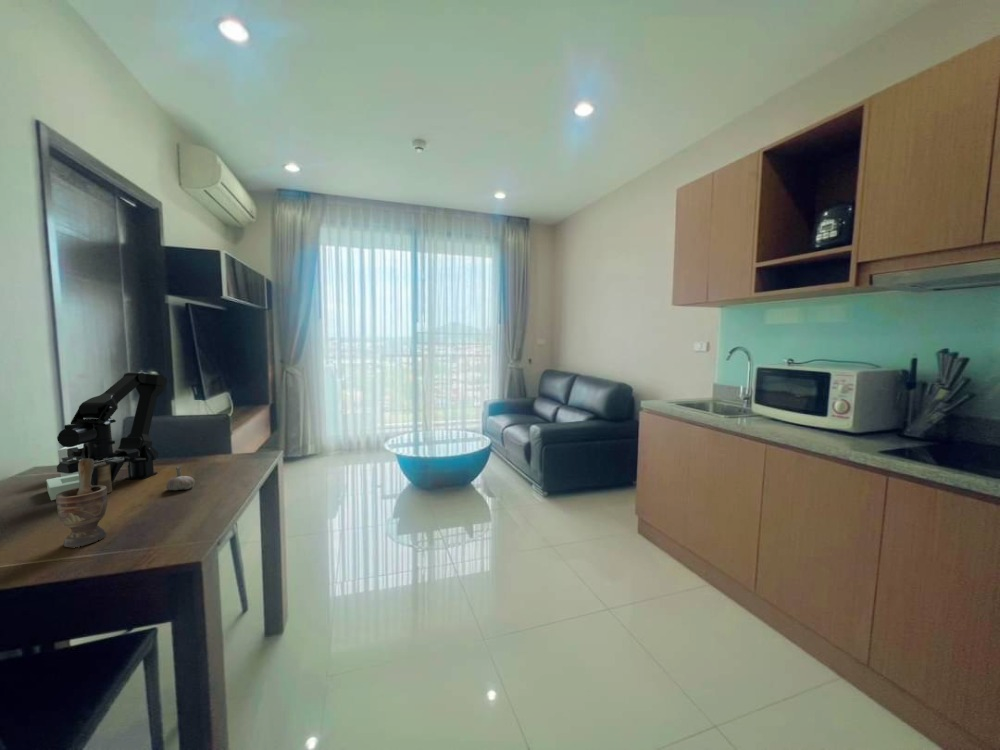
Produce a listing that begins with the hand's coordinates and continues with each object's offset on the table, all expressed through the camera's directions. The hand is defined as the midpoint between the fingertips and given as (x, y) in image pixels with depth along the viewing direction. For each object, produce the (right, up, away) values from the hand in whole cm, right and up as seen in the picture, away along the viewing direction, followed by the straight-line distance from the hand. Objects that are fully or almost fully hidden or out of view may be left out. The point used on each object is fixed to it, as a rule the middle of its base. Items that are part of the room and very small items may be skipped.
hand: (103, 484), depth 125 cm
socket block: (-12, -3, +3) cm, 13 cm away
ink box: (-26, -2, +16) cm, 31 cm away
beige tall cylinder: (0, -3, 0) cm, 2 cm away
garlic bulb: (+22, -3, +5) cm, 23 cm away
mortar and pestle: (+25, -6, -28) cm, 38 cm away
